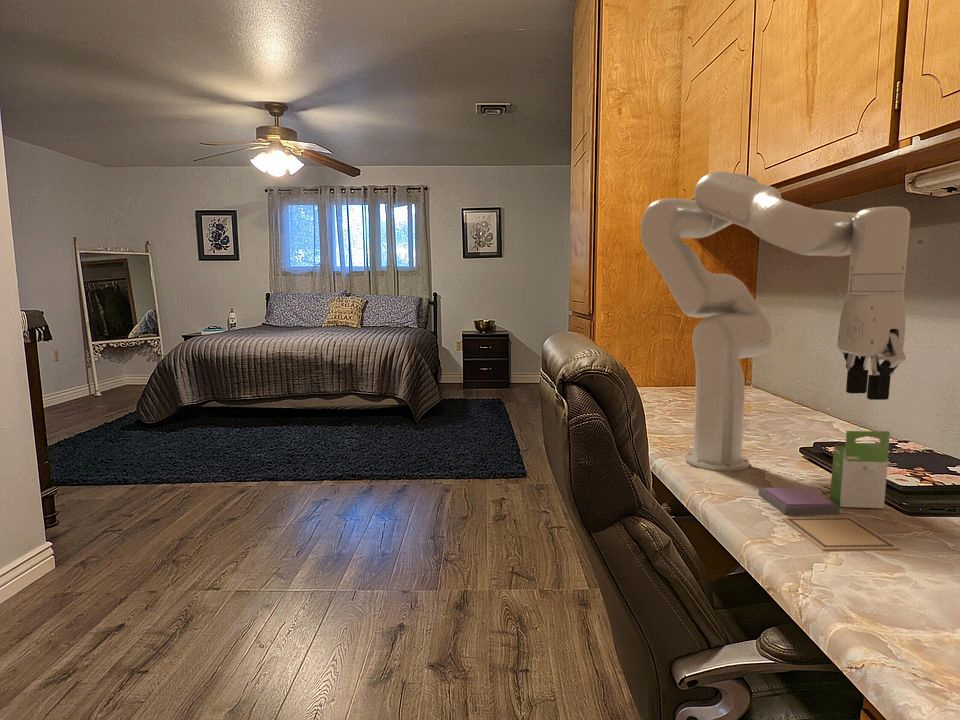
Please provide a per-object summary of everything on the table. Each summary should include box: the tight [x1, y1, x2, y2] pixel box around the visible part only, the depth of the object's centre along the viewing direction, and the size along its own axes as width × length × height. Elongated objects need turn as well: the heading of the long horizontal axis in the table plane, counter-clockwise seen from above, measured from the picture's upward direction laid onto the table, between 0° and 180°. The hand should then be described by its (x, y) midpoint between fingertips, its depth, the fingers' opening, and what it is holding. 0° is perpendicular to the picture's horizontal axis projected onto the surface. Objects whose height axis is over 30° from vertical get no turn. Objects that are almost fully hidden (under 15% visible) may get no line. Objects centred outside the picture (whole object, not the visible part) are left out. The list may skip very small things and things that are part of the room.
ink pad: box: [757, 486, 841, 515], centre depth 99 cm, size 9×9×2 cm
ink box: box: [829, 430, 891, 510], centre depth 98 cm, size 7×4×13 cm, turn 81°
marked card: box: [781, 516, 901, 552], centre depth 87 cm, size 11×11×1 cm
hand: (866, 394), depth 96 cm, fingers open, 4 cm apart
